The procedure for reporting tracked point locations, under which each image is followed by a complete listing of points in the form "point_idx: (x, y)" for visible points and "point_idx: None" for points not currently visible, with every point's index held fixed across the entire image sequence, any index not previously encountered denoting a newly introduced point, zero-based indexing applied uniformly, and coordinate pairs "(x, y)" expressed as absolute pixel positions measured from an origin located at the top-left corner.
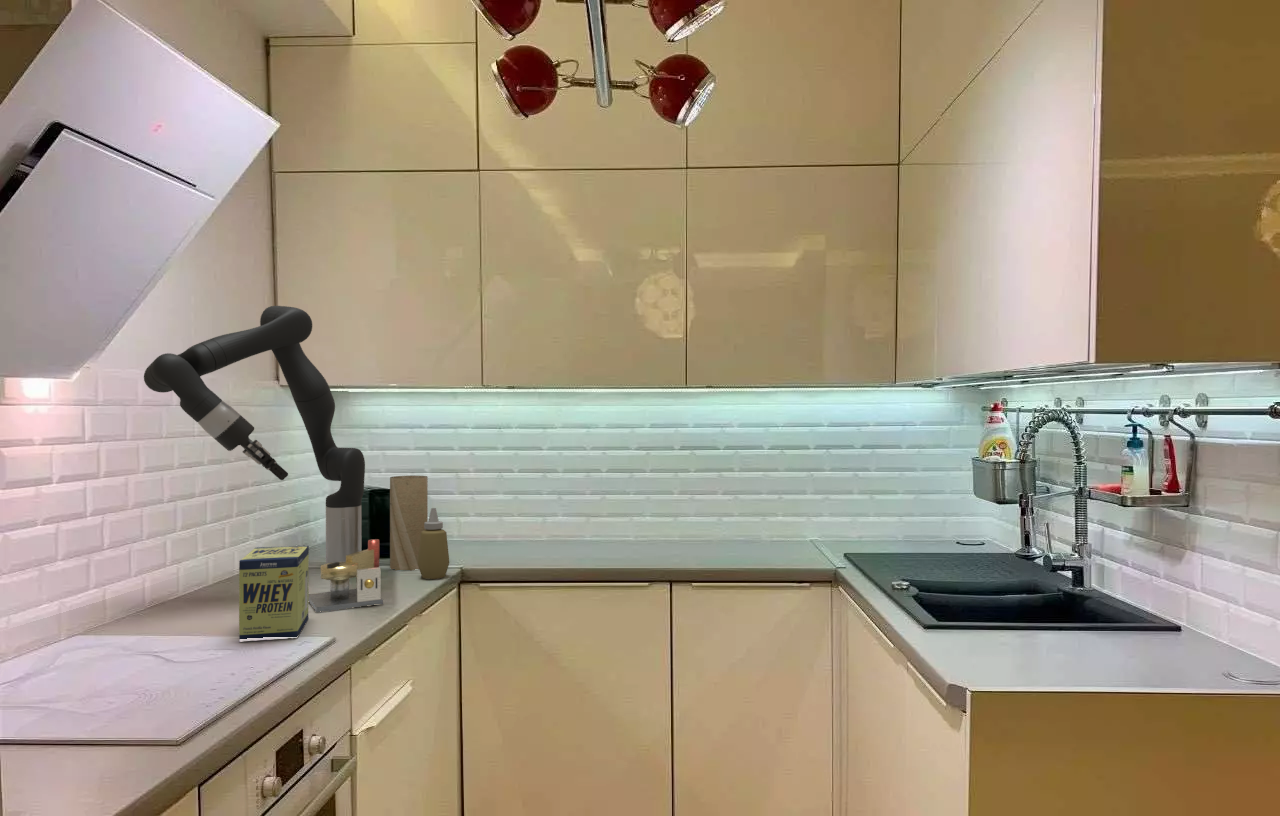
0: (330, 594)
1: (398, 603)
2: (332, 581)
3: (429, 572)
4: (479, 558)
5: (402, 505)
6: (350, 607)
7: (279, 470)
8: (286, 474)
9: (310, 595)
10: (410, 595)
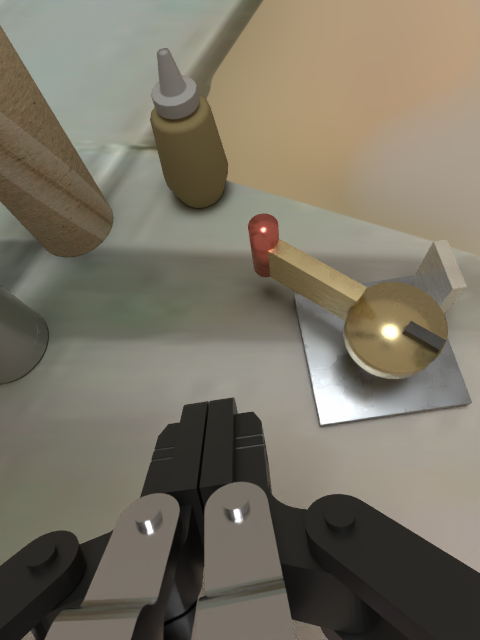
0: None
1: (415, 254)
2: None
3: (222, 187)
4: (68, 119)
5: (23, 116)
6: None
7: (266, 462)
8: (236, 411)
9: (337, 415)
10: (349, 233)
